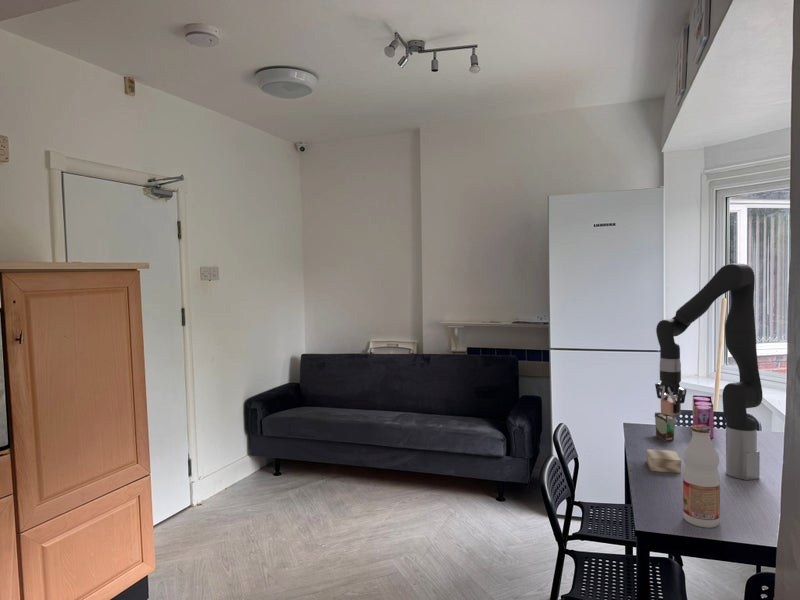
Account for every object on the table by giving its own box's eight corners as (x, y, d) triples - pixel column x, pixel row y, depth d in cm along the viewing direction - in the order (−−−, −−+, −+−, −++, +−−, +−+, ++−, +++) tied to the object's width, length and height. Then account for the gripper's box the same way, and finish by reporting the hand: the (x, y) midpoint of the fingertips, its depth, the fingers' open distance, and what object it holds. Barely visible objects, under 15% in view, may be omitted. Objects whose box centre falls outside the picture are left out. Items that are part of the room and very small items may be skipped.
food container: (682, 442, 224) (682, 419, 224) (667, 443, 224) (667, 419, 224) (668, 433, 237) (668, 411, 236) (654, 434, 237) (654, 412, 236)
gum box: (714, 439, 227) (714, 408, 227) (693, 437, 231) (693, 406, 230) (711, 424, 248) (711, 396, 248) (692, 422, 252) (692, 394, 251)
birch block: (675, 463, 201) (675, 451, 201) (680, 473, 192) (680, 460, 191) (646, 461, 204) (646, 449, 204) (650, 471, 195) (650, 458, 194)
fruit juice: (704, 531, 149) (704, 433, 148) (675, 517, 158) (675, 425, 156) (727, 524, 152) (727, 429, 151) (698, 511, 161) (698, 420, 160)
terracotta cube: (680, 414, 208) (680, 401, 208) (670, 415, 207) (670, 402, 207) (670, 411, 213) (670, 398, 213) (660, 412, 212) (660, 400, 212)
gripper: (692, 371, 204) (692, 415, 204) (664, 365, 217) (664, 406, 218) (676, 373, 201) (677, 417, 202) (649, 367, 215) (649, 408, 216)
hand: (670, 411), depth 210 cm, fingers closed on terracotta cube, 5 cm apart
